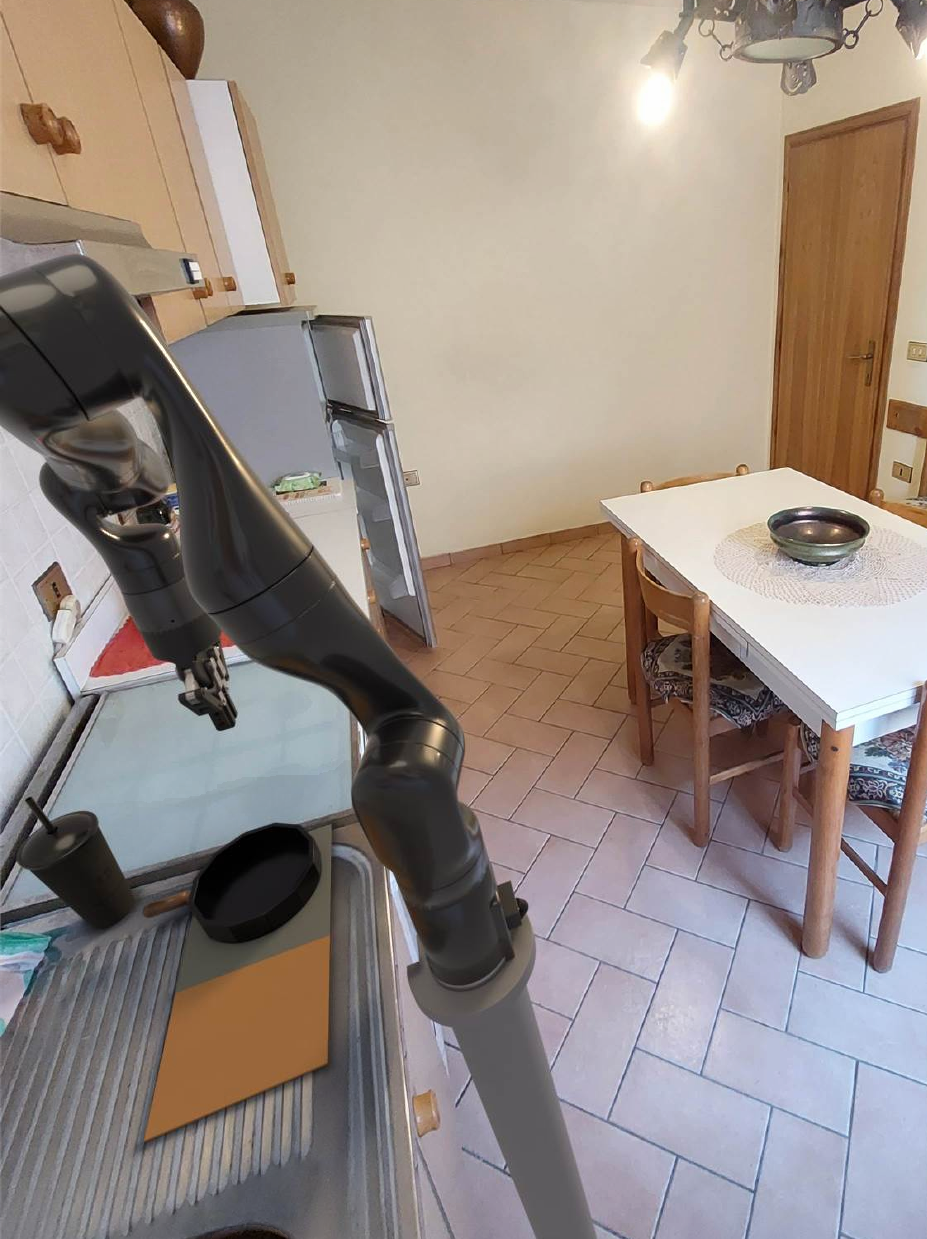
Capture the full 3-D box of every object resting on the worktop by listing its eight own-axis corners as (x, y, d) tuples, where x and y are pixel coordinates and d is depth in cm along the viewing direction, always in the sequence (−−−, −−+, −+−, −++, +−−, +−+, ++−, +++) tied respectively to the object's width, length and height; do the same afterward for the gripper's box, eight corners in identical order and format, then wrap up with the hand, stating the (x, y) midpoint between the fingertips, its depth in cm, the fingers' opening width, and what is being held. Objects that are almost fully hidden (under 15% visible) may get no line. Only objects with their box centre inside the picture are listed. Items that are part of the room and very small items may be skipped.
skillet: (323, 826, 90) (315, 808, 88) (320, 915, 79) (311, 896, 77) (166, 878, 85) (154, 860, 83) (138, 982, 73) (123, 964, 72)
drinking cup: (60, 944, 79) (-35, 831, 69) (102, 885, 85) (20, 775, 76) (124, 937, 79) (37, 824, 69) (160, 880, 85) (86, 769, 76)
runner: (331, 825, 91) (331, 823, 90) (327, 1064, 65) (326, 1063, 65) (203, 868, 86) (202, 866, 86) (145, 1142, 60) (143, 1141, 60)
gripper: (197, 632, 72) (253, 748, 81) (217, 577, 84) (264, 684, 92) (119, 652, 70) (186, 768, 79) (150, 592, 82) (205, 700, 90)
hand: (228, 722), depth 85 cm, fingers closed
